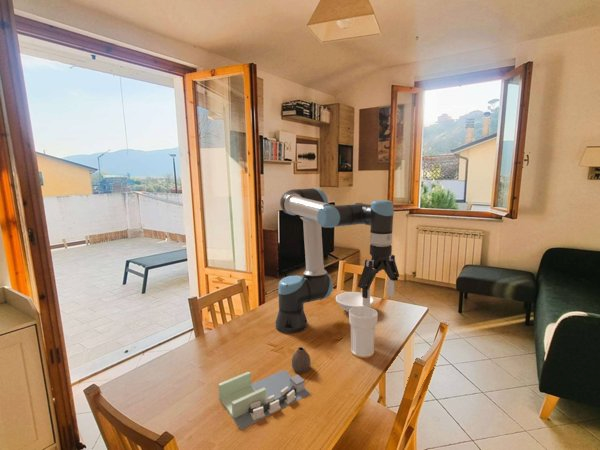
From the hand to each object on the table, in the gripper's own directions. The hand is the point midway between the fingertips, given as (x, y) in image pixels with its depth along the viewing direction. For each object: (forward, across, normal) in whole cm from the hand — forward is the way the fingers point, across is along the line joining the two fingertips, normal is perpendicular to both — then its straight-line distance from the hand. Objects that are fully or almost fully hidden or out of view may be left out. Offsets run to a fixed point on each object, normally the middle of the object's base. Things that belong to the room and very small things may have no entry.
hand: (378, 301), depth 116 cm
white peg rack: (+25, -41, +6) cm, 48 cm away
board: (+26, -42, +10) cm, 51 cm away
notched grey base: (+24, -41, +6) cm, 48 cm away
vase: (+26, -24, +15) cm, 39 cm away
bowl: (+26, +30, +38) cm, 55 cm away
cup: (+26, +3, +9) cm, 27 cm away
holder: (+25, -49, +13) cm, 57 cm away
